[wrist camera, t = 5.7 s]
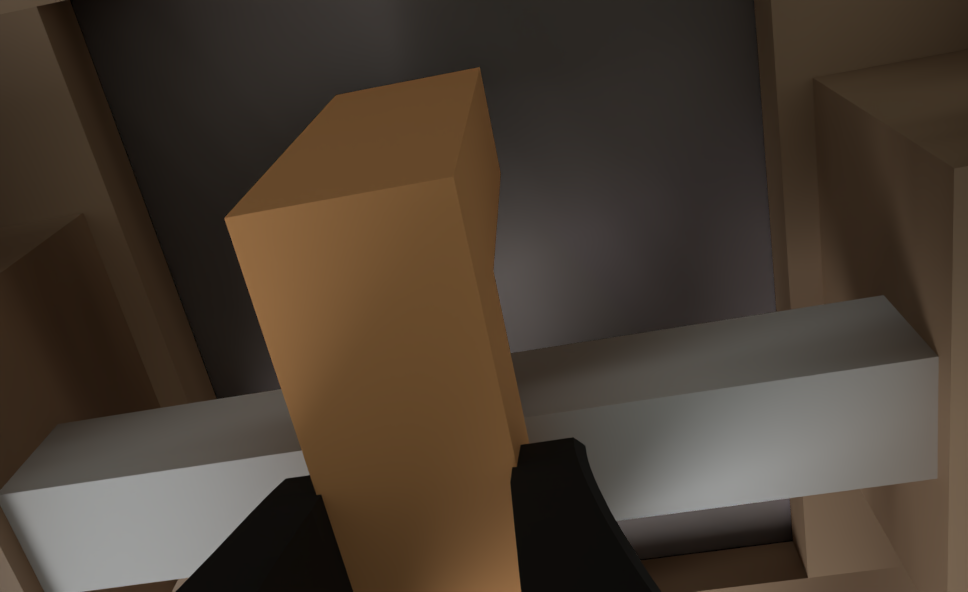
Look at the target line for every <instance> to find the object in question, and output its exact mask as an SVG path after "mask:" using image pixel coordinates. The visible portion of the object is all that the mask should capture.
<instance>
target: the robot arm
mask: <svg viewBox="0 0 968 592" xmlns="http://www.w3.org/2000/svg"><path fill="white" fill-rule="evenodd" d="M510 485H511V496H512V507H513V517H514V527H515V537H516V547H517V557H518V566H519V576H520V586H521V592H661V590H660V589H659V587H658V586H657V585H656V583H655V582H654V580H653V579H652V577H651V576H650V574H649V573H648V571H647V570H646V568H645V567H644V565H643V564H642V562H641V561H640V559H639V557H638V556H637V554H636V553H635V551H634V549H633V548H632V546H631V545H630V543H629V541H628V540H627V538H626V537H625V535H624V533H623V532H622V530H621V529H620V527H619V525H618V523H617V522H616V520H615V518H614V516H613V515H612V513H611V511H610V509H609V507H608V505H607V503H606V501H605V499H604V497H603V495H602V493H601V491H600V489H599V487H598V485H597V482H596V480H595V478H594V475H593V473H592V470H591V467H590V464H589V461H588V457H587V452H586V446H585V445H584V444H583V443H581V442H580V441H578V440H577V439H575V438H574V437H571V438H564V439H557V440H551V441H544V442H537V443H530V444H523V445H521V446H520V451H519V457H518V462H517V467H512V473H511V480H510ZM176 592H353V589H352V586H351V583H350V580H349V577H348V574H347V571H346V568H345V565H344V562H343V559H342V556H341V553H340V550H339V547H338V544H337V541H336V538H335V535H334V532H333V529H332V526H331V523H330V520H329V517H328V514H327V511H326V508H325V505H324V501H323V498H322V495H321V494H320V495H316V492H315V489H314V486H313V483H312V480H311V477H310V475H307V476H300V477H293V478H286V479H285V480H284V481H282V482H281V483H280V484H279V485H278V486H277V487H276V488H275V489H274V490H273V491H272V492H271V493H270V494H269V495H268V496H267V497H266V498H265V499H264V500H263V501H262V502H261V503H260V504H259V505H258V506H257V507H256V508H255V509H254V510H253V511H252V512H251V513H250V514H249V515H248V516H247V517H246V518H245V519H244V521H243V522H242V523H241V524H240V525H239V526H238V527H237V528H236V529H235V530H234V531H233V532H232V533H231V534H230V535H229V536H228V537H227V539H226V540H225V541H224V542H223V543H222V544H221V545H220V546H219V547H218V548H217V549H216V550H215V551H214V552H213V553H212V554H211V555H210V556H209V557H208V559H207V560H206V561H205V562H204V563H203V564H202V565H201V566H200V567H199V568H198V569H197V570H196V571H195V572H194V573H193V574H192V575H191V576H190V577H189V578H188V579H187V580H186V581H185V582H184V583H183V584H182V585H181V587H180V588H179V589H178V590H177V591H176Z"/></svg>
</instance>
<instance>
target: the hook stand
mask: <svg viewBox="0 0 968 592" xmlns="http://www.w3.org/2000/svg"><path fill="white" fill-rule="evenodd" d="M754 5H755V19H756V33H757V47H758V61H759V75H760V89H761V103H762V117H763V131H764V145H765V159H766V173H767V187H768V201H769V215H770V229H771V243H772V257H773V271H774V285H775V299H776V312H772V313H766V314H759V315H753V316H747V317H740V318H734V319H727V320H721V321H714V322H708V323H702V324H695V325H689V326H682V327H676V328H670V329H663V330H657V331H650V332H644V333H638V334H631V335H625V336H618V337H612V338H606V339H599V340H593V341H586V342H580V343H574V344H567V345H561V346H554V347H548V348H542V349H535V350H529V351H522V352H516V353H511V358H512V362H513V367H514V372H515V377H516V381H517V386H518V391H519V396H520V401H521V405H522V410H523V415H524V420H525V424H526V429H527V434H528V439H529V444H530V443H537V442H544V441H551V440H557V439H564V438H571V437H574V438H575V439H577V440H578V441H580V442H581V443H583V444H584V445H585V446H586V452H587V457H588V461H589V464H590V467H591V470H592V473H593V475H594V478H595V480H596V482H597V485H598V487H599V489H600V491H601V493H602V495H603V497H604V499H605V501H606V503H607V505H608V507H609V509H610V511H611V513H612V515H613V516H614V518H615V520H616V521H621V520H628V519H636V518H643V517H651V516H659V515H666V514H674V513H681V512H689V511H696V510H704V509H711V508H719V507H727V506H734V505H742V504H749V503H757V502H764V501H772V500H780V499H787V498H790V508H791V522H792V536H793V541H791V542H784V543H776V544H768V545H760V546H752V547H744V548H736V549H728V550H720V551H713V552H705V553H697V554H689V555H681V556H673V557H665V558H657V559H649V560H642V561H641V562H642V564H643V565H644V567H645V568H646V570H647V571H648V573H649V574H650V576H651V577H652V579H653V580H654V582H655V583H656V585H657V586H658V587H659V589H660V590H661V592H968V0H754ZM307 475H310V474H309V471H308V468H307V465H306V462H305V459H304V456H303V453H302V450H301V447H300V444H299V441H298V438H297V435H296V432H295V429H294V426H293V423H292V420H291V417H290V414H289V411H288V408H287V405H286V402H285V399H284V396H283V393H282V390H281V389H279V390H272V391H266V392H260V393H253V394H247V395H240V396H234V397H228V398H221V399H216V396H215V393H214V391H213V388H212V385H211V382H210V380H209V377H208V374H207V371H206V369H205V366H204V363H203V361H202V358H201V355H200V352H199V350H198V347H197V344H196V342H195V339H194V336H193V333H192V331H191V328H190V325H189V323H188V320H187V317H186V314H185V312H184V309H183V306H182V304H181V301H180V298H179V295H178V293H177V290H176V287H175V285H174V282H173V279H172V276H171V274H170V271H169V268H168V265H167V263H166V260H165V257H164V255H163V252H162V249H161V246H160V244H159V241H158V238H157V236H156V233H155V230H154V227H153V225H152V222H151V219H150V217H149V214H148V211H147V208H146V206H145V203H144V200H143V198H142V195H141V192H140V189H139V187H138V184H137V181H136V179H135V176H134V173H133V170H132V168H131V165H130V162H129V160H128V157H127V154H126V151H125V149H124V146H123V143H122V140H121V138H120V135H119V132H118V130H117V127H116V124H115V121H114V119H113V116H112V113H111V111H110V108H109V105H108V102H107V100H106V97H105V94H104V92H103V89H102V86H101V83H100V81H99V78H98V75H97V73H96V70H95V67H94V64H93V62H92V59H91V56H90V54H89V51H88V48H87V45H86V43H85V40H84V37H83V34H82V32H81V29H80V26H79V24H78V21H77V18H76V15H75V13H74V10H73V7H72V5H71V2H70V0H0V592H176V591H177V590H178V589H179V588H180V587H181V585H182V584H183V583H184V582H185V581H186V580H187V579H188V578H189V577H190V576H191V575H192V574H193V573H194V572H195V571H196V570H197V569H198V568H199V567H200V566H201V565H202V564H203V563H204V562H205V561H206V560H207V559H208V557H209V556H210V555H211V554H212V553H213V552H214V551H215V550H216V549H217V548H218V547H219V546H220V545H221V544H222V543H223V542H224V541H225V540H226V539H227V537H228V536H229V535H230V534H231V533H232V532H233V531H234V530H235V529H236V528H237V527H238V526H239V525H240V524H241V523H242V522H243V521H244V519H245V518H246V517H247V516H248V515H249V514H250V513H251V512H252V511H253V510H254V509H255V508H256V507H257V506H258V505H259V504H260V503H261V502H262V501H263V500H264V499H265V498H266V497H267V496H268V495H269V494H270V493H271V492H272V491H273V490H274V489H275V488H276V487H277V486H278V485H279V484H280V483H281V482H282V481H284V480H285V479H286V478H293V477H300V476H307Z"/></svg>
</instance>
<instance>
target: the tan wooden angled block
mask: <svg viewBox="0 0 968 592" xmlns="http://www.w3.org/2000/svg"><path fill="white" fill-rule="evenodd" d="M500 178H501V172H500V167H499V162H498V157H497V152H496V147H495V142H494V137H493V132H492V126H491V121H490V116H489V111H488V106H487V101H486V96H485V91H484V86H483V81H482V76H481V70H480V67H477V68H472V69H467V70H462V71H457V72H452V73H447V74H441V75H436V76H431V77H426V78H421V79H416V80H411V81H405V82H400V83H395V84H390V85H385V86H380V87H375V88H369V89H364V90H359V91H354V92H349V93H344V94H339V95H335V97H334V98H333V99H332V100H331V101H330V102H329V103H328V104H327V105H326V106H325V108H324V109H323V110H322V111H321V112H320V113H319V114H318V115H317V116H316V117H315V119H314V120H313V121H312V122H311V123H310V124H309V125H308V126H307V127H306V128H305V130H304V131H303V132H302V133H301V134H300V135H299V136H298V137H297V138H296V139H295V141H294V142H293V143H292V144H291V145H290V146H289V147H288V148H287V149H286V150H285V152H284V153H283V154H282V155H281V156H280V157H279V158H278V159H277V160H276V161H275V163H274V164H273V165H272V166H271V167H270V168H269V169H268V170H267V171H266V173H265V174H264V175H263V176H262V177H261V178H260V179H259V180H258V181H257V182H256V184H255V185H254V186H253V187H252V188H251V189H250V190H249V191H248V192H247V193H246V195H245V196H244V197H243V198H242V199H241V200H240V201H239V202H238V203H237V204H236V206H235V207H234V208H233V209H232V210H231V211H230V212H229V213H228V214H227V215H226V217H225V218H224V219H225V222H226V225H227V228H228V231H229V234H230V237H231V240H232V243H233V246H234V249H235V252H236V255H237V258H238V261H239V264H240V267H241V270H242V273H243V276H244V279H245V282H246V285H247V288H248V291H249V294H250V297H251V300H252V303H253V306H254V309H255V312H256V315H257V318H258V321H259V324H260V327H261V330H262V333H263V336H264V339H265V342H266V345H267V348H268V351H269V354H270V357H271V360H272V363H273V366H274V369H275V372H276V375H277V378H278V381H279V384H280V387H281V390H282V393H283V396H284V399H285V402H286V405H287V408H288V411H289V414H290V417H291V420H292V423H293V426H294V429H295V432H296V435H297V438H298V441H299V444H300V447H301V450H302V453H303V456H304V459H305V462H306V465H307V468H308V471H309V474H310V477H311V480H312V483H313V486H314V489H315V492H316V495H320V494H321V495H322V498H323V501H324V505H325V508H326V511H327V514H328V517H329V520H330V523H331V526H332V529H333V532H334V535H335V538H336V541H337V544H338V547H339V550H340V553H341V556H342V559H343V562H344V565H345V568H346V571H347V574H348V577H349V580H350V583H351V586H352V589H353V592H521V586H520V576H519V566H518V557H517V547H516V537H515V527H514V517H513V507H512V496H511V485H510V480H511V473H512V467H517V462H518V457H519V451H520V446H521V445H523V444H529V439H528V434H527V429H526V424H525V420H524V415H523V410H522V405H521V401H520V396H519V391H518V386H517V381H516V377H515V372H514V367H513V362H512V358H511V353H510V348H509V343H508V338H507V334H506V329H505V324H504V319H503V315H502V310H501V305H500V300H499V295H498V291H497V286H496V281H495V276H494V272H493V269H494V256H495V243H496V230H497V217H498V204H499V191H500Z"/></svg>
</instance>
